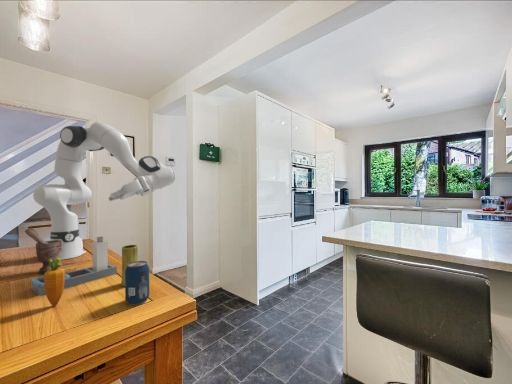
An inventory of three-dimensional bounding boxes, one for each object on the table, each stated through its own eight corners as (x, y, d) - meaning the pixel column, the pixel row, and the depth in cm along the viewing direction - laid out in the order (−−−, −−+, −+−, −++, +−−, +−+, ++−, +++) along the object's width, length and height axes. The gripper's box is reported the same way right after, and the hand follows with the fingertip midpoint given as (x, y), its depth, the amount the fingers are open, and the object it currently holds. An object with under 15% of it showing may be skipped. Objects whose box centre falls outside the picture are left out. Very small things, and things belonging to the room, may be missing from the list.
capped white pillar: (92, 275, 98) (92, 237, 98) (103, 272, 101) (102, 235, 101) (97, 277, 95) (96, 238, 95) (107, 274, 99) (107, 236, 99)
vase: (131, 287, 85) (130, 248, 85) (116, 286, 86) (116, 247, 86) (142, 281, 91) (142, 244, 91) (129, 279, 92) (128, 244, 92)
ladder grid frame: (30, 289, 84) (30, 279, 84) (106, 269, 105) (106, 261, 105) (38, 295, 79) (38, 284, 79) (116, 273, 99) (116, 264, 99)
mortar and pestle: (28, 278, 94) (28, 229, 94) (24, 274, 100) (23, 227, 99) (64, 270, 104) (64, 225, 104) (58, 266, 109) (58, 224, 109)
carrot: (43, 306, 71) (42, 257, 71) (63, 300, 75) (63, 254, 75) (45, 312, 68) (44, 261, 68) (66, 305, 72) (66, 257, 72)
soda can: (133, 295, 78) (132, 260, 78) (153, 295, 78) (153, 260, 78) (120, 305, 72) (120, 267, 71) (142, 306, 71) (142, 267, 71)
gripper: (135, 184, 116) (104, 195, 108) (142, 174, 100) (108, 186, 92) (140, 195, 117) (111, 207, 109) (149, 188, 101) (115, 201, 93)
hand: (109, 197), depth 100 cm, fingers open, 8 cm apart
